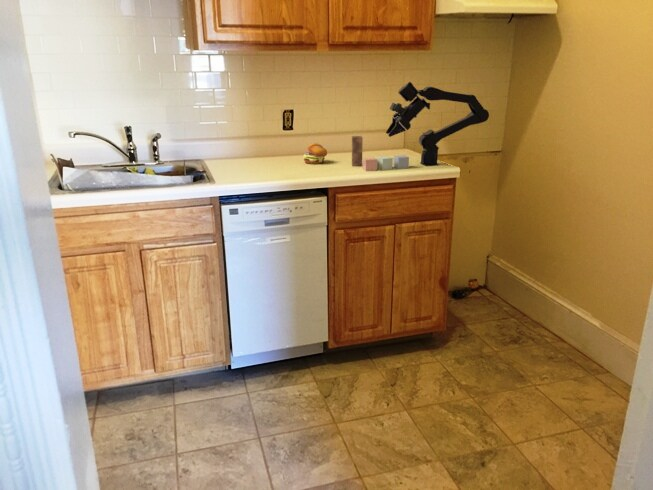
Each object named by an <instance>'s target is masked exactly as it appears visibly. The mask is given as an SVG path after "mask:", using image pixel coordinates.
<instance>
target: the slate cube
mask: <svg viewBox="0 0 653 490" xmlns="http://www.w3.org/2000/svg"><path fill="white" fill-rule="evenodd" d="M409 164H410V157H409V156H407V155H404V154H402V155H401V154H400V155H393V167H394V168H395V169H397V170H402V169H409V168H410V167H409Z"/></svg>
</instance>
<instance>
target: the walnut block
mask: <svg viewBox="0 0 653 490" xmlns="http://www.w3.org/2000/svg"><path fill="white" fill-rule="evenodd" d="M363 140H364V139H363V136H362V135H352V136H351V166H352V167H363V143H364V142H363Z"/></svg>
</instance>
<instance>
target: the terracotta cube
mask: <svg viewBox="0 0 653 490" xmlns="http://www.w3.org/2000/svg"><path fill="white" fill-rule="evenodd" d="M362 170H364V172H374V171H375V172H376V171H377V157H374V156H371V157H362Z"/></svg>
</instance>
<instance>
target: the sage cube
mask: <svg viewBox="0 0 653 490" xmlns="http://www.w3.org/2000/svg"><path fill="white" fill-rule="evenodd" d="M376 159H377V169H378V170H381V171H387V170H393V163H394V157H390V156H387V155H386V156H377V157H376Z"/></svg>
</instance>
